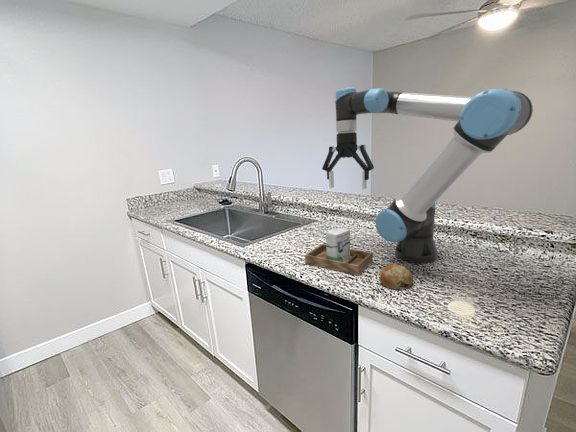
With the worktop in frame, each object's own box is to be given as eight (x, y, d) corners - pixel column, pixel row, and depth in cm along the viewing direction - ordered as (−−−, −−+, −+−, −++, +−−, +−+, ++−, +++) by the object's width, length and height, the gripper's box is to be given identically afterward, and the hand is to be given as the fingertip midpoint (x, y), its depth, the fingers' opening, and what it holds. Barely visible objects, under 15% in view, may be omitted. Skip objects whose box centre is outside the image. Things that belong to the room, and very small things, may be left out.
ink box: (336, 265, 111) (335, 234, 108) (326, 261, 115) (325, 232, 112) (350, 258, 117) (350, 229, 114) (340, 255, 120) (340, 226, 117)
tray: (372, 261, 115) (372, 252, 114) (358, 275, 105) (358, 266, 104) (322, 251, 128) (322, 243, 127) (305, 263, 117) (304, 255, 116)
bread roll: (389, 301, 95) (398, 284, 90) (370, 276, 102) (377, 260, 97) (413, 293, 98) (423, 277, 93) (393, 270, 105) (401, 254, 101)
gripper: (382, 129, 111) (382, 187, 116) (320, 134, 124) (322, 185, 130) (376, 130, 105) (376, 190, 110) (312, 134, 118) (315, 188, 123)
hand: (347, 188), depth 120 cm, fingers open, 13 cm apart
